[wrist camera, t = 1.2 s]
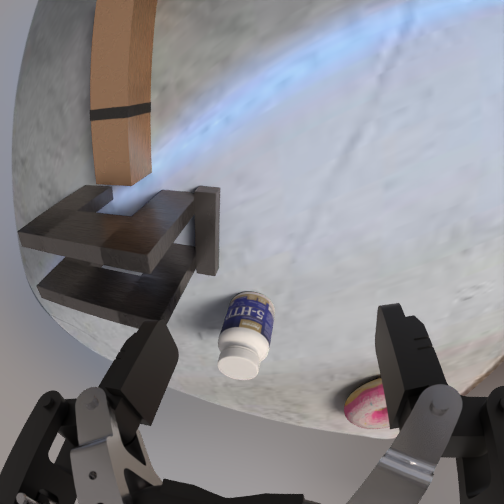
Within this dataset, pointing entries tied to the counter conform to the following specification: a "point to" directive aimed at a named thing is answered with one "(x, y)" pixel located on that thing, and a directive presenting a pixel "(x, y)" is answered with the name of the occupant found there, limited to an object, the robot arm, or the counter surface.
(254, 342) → the pill bottle
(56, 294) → the dark two-tier wooden rack
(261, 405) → the counter surface
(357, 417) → the donut
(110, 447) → the robot arm
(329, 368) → the counter surface
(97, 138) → the tall wooden block
